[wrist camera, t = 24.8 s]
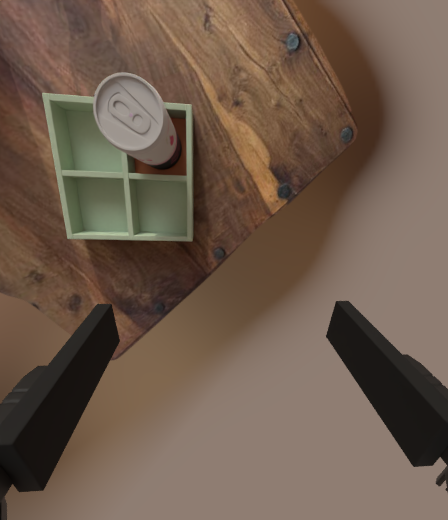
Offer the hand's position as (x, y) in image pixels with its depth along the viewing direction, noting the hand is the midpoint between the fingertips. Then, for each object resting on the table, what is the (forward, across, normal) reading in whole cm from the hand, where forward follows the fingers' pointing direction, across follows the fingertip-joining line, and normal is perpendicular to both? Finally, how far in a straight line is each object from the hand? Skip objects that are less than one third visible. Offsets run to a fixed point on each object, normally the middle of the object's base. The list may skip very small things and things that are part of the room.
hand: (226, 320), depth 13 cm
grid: (+29, -14, +6) cm, 32 cm away
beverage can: (+29, -9, +11) cm, 32 cm away
